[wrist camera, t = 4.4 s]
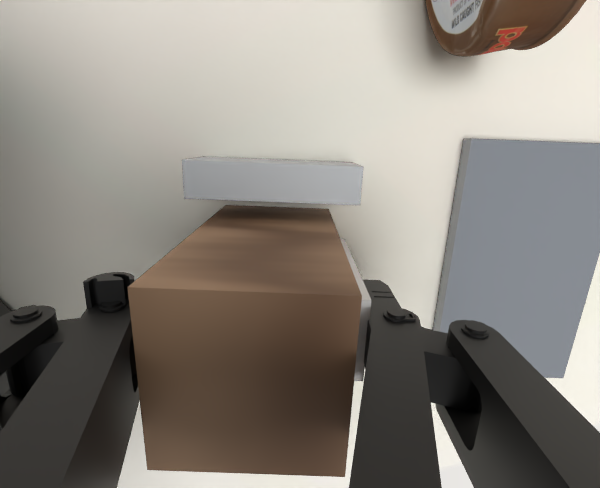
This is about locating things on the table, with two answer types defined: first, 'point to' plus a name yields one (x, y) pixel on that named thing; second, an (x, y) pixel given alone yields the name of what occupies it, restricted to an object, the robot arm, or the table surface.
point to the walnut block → (249, 346)
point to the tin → (497, 23)
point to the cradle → (272, 180)
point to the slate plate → (523, 244)
